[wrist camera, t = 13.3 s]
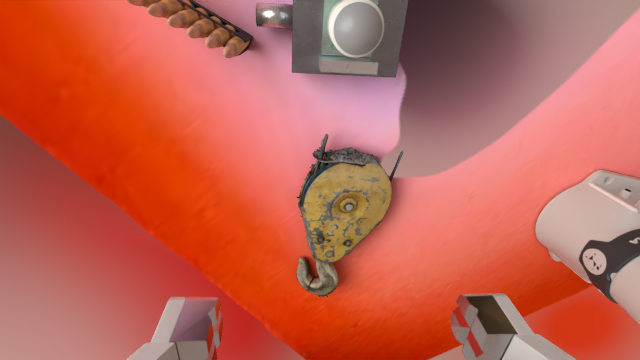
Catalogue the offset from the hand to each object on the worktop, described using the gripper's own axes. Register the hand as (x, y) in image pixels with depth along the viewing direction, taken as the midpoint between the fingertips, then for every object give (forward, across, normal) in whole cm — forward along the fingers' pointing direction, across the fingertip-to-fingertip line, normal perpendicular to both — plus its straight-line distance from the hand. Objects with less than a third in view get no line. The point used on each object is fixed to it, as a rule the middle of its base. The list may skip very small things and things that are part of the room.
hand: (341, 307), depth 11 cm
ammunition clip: (+38, +12, -6) cm, 40 cm away
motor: (+37, -2, -7) cm, 38 cm away
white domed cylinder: (+31, -4, -7) cm, 32 cm away
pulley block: (+38, -5, +23) cm, 44 cm away
